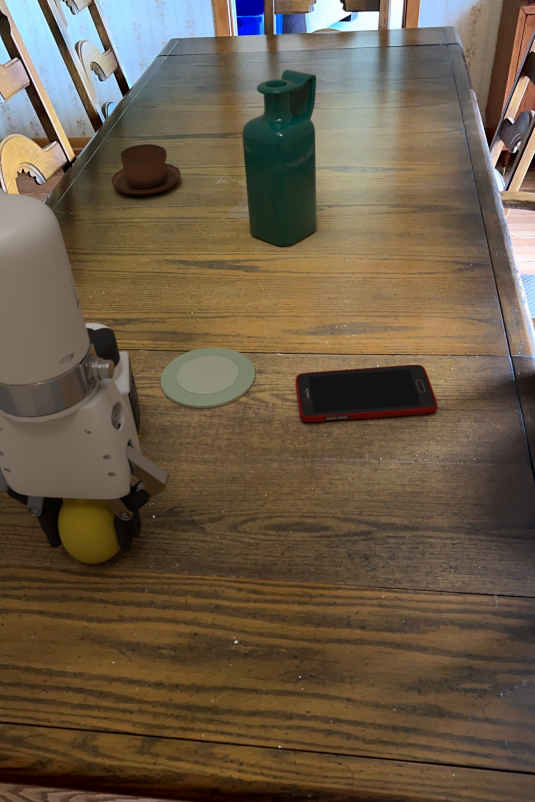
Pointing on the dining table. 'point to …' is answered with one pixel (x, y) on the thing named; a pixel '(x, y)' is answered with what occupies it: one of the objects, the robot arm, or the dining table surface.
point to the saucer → (207, 377)
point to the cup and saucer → (145, 171)
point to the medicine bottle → (117, 367)
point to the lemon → (88, 529)
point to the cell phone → (364, 393)
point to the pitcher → (282, 161)
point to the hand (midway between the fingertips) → (94, 535)
